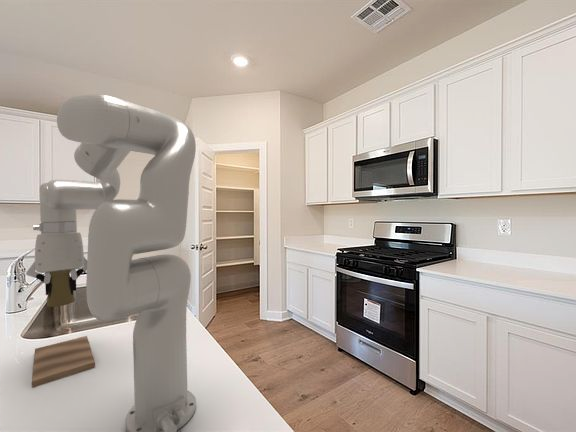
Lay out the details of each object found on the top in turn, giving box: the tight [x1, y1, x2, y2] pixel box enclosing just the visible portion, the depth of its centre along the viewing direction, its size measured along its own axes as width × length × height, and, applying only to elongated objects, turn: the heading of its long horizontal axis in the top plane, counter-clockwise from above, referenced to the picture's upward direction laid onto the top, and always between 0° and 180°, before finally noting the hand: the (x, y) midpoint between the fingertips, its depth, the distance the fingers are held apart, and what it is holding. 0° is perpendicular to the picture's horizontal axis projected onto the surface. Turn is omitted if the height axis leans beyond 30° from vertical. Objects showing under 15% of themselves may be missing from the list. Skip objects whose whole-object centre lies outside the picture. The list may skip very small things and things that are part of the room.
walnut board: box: [31, 335, 96, 389], centre depth 75 cm, size 20×12×2 cm, turn 41°
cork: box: [45, 270, 75, 308], centre depth 75 cm, size 6×6×11 cm
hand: (61, 294), depth 75 cm, fingers closed on cork, 3 cm apart
